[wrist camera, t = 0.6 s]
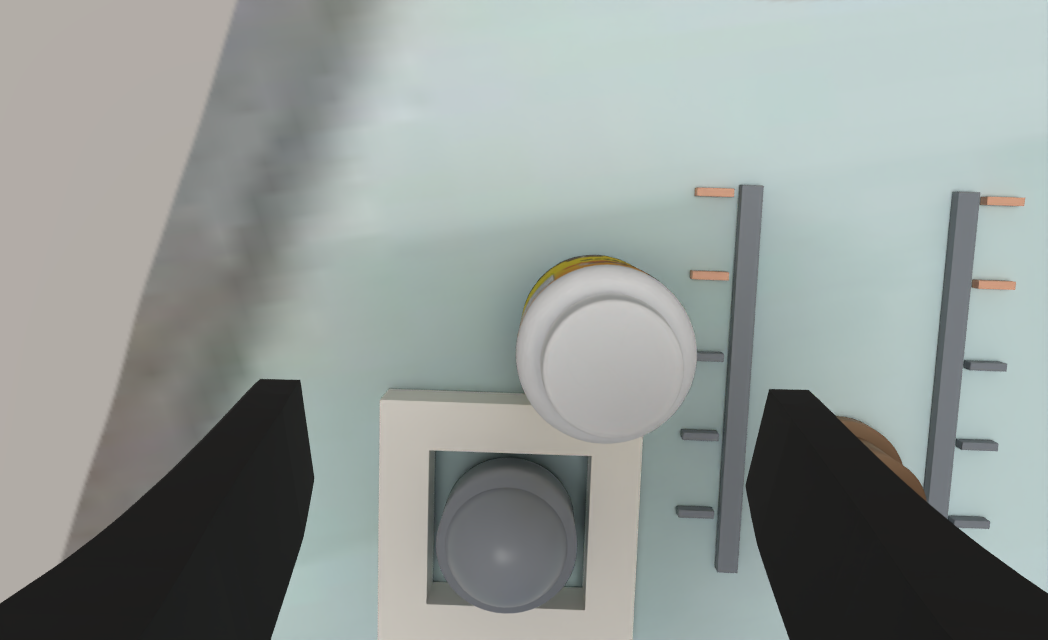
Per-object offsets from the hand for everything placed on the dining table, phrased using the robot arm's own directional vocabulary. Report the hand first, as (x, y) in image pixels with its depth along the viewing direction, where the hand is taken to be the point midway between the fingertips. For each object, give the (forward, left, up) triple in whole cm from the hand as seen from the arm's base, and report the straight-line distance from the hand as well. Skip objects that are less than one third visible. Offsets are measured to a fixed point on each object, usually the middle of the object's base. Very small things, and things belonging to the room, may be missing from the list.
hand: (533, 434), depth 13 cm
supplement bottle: (-1, -2, -21) cm, 21 cm away
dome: (-9, +1, -19) cm, 21 cm away
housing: (-9, +1, -20) cm, 22 cm away
